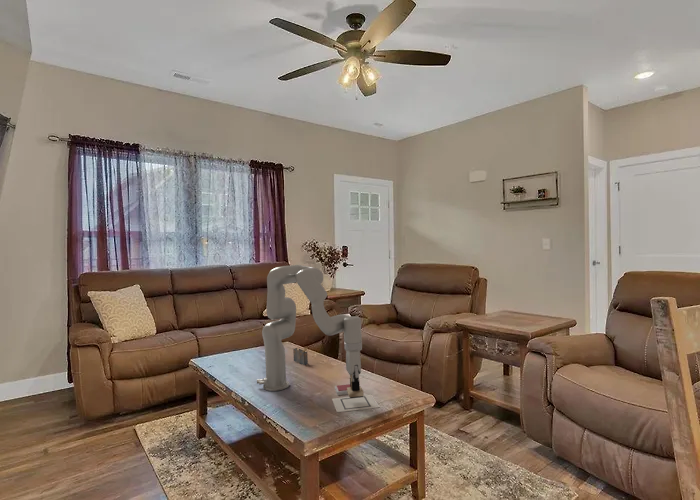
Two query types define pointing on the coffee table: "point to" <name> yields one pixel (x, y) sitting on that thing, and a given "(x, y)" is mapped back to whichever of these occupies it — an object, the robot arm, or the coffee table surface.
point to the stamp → (354, 393)
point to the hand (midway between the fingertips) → (354, 388)
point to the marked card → (355, 403)
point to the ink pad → (341, 389)
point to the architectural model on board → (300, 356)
